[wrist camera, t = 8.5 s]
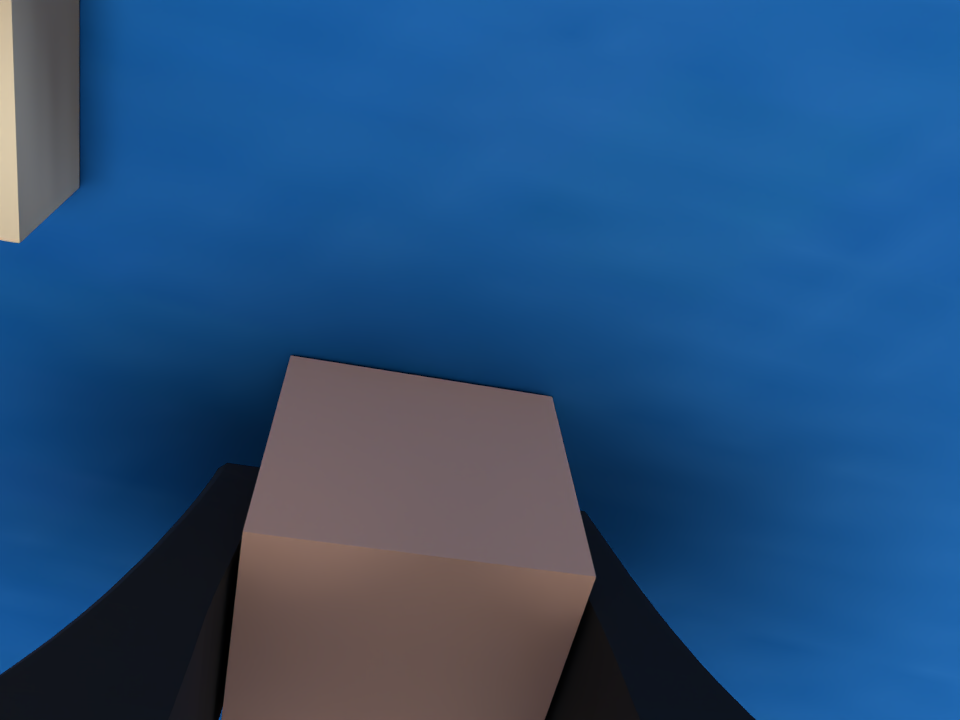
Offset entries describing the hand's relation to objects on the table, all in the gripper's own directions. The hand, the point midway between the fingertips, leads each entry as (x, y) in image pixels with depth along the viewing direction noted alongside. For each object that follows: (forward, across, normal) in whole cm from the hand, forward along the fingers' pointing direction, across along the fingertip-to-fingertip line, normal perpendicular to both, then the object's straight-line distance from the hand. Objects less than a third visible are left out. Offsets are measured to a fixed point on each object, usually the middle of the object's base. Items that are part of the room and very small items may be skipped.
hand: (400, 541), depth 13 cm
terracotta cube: (+1, 0, 0) cm, 1 cm away
